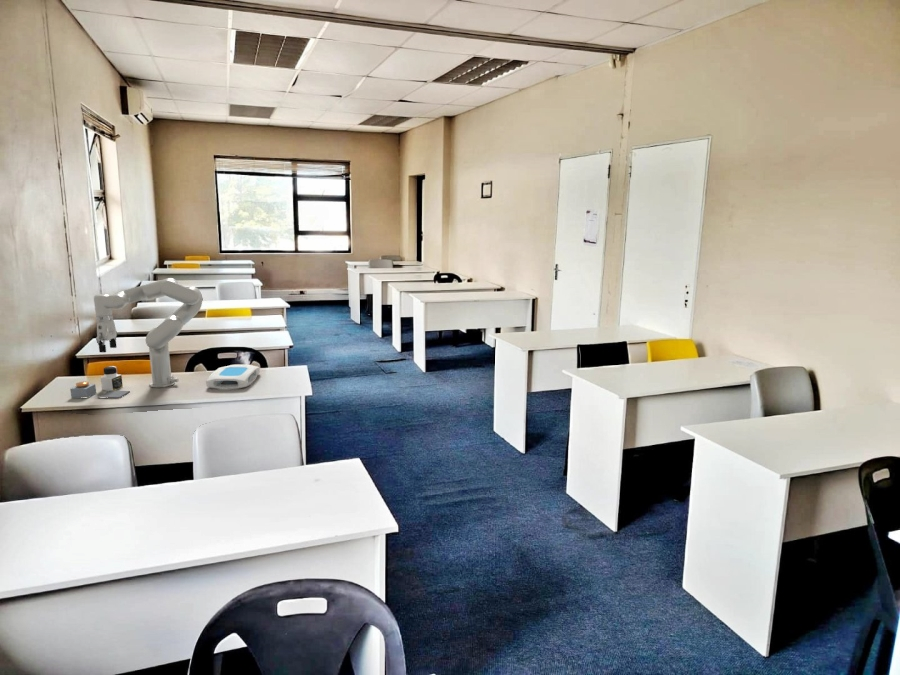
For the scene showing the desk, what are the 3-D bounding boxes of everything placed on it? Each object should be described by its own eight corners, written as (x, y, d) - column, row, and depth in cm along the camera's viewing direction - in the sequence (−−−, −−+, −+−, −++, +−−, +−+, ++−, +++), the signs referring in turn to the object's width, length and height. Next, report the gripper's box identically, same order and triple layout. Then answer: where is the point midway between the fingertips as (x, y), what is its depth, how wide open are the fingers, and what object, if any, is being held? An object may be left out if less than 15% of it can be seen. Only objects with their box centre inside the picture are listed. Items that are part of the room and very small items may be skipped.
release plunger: (92, 393, 308) (91, 381, 306) (86, 397, 302) (84, 384, 301) (81, 393, 307) (80, 381, 306) (75, 397, 302) (73, 384, 301)
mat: (129, 392, 311) (129, 390, 311) (119, 398, 301) (119, 397, 301) (109, 392, 311) (108, 390, 310) (98, 398, 301) (97, 396, 301)
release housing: (96, 393, 309) (95, 384, 308) (87, 398, 301) (85, 388, 300) (81, 393, 309) (79, 383, 308) (71, 398, 301) (70, 388, 300)
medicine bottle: (113, 391, 312) (110, 369, 310) (101, 390, 314) (98, 368, 311) (123, 387, 319) (120, 365, 316) (111, 386, 321) (109, 364, 318)
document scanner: (260, 374, 345) (259, 364, 344) (245, 389, 318) (244, 378, 317) (223, 374, 345) (223, 364, 343) (206, 389, 317) (205, 378, 316)
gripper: (102, 321, 299) (106, 354, 303) (120, 315, 316) (124, 346, 320) (87, 321, 299) (91, 353, 303) (106, 314, 316) (110, 345, 320)
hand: (108, 349), depth 312 cm, fingers open, 9 cm apart
